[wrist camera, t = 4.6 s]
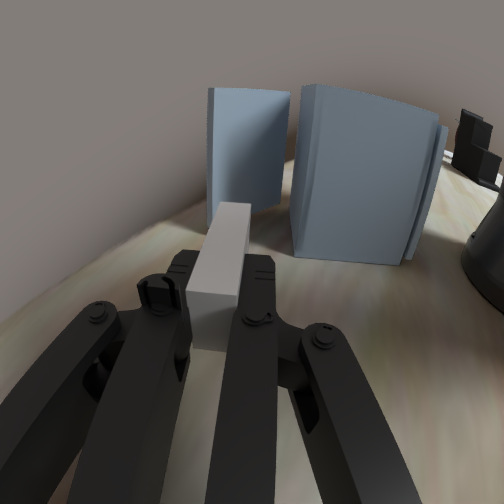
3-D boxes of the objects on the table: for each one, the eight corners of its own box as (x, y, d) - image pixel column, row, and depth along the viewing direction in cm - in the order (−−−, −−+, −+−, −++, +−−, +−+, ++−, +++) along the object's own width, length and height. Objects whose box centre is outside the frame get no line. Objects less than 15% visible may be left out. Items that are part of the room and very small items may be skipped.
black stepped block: (500, 193, 62) (515, 127, 49) (478, 185, 64) (493, 115, 51) (470, 172, 81) (481, 117, 69) (450, 165, 83) (460, 108, 70)
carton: (377, 218, 32) (400, 106, 24) (408, 267, 23) (450, 118, 16) (288, 208, 32) (301, 86, 25) (294, 257, 24) (316, 83, 16)
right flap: (274, 201, 32) (283, 91, 25) (280, 203, 31) (290, 92, 25) (206, 226, 26) (207, 87, 19) (212, 229, 25) (214, 87, 19)
